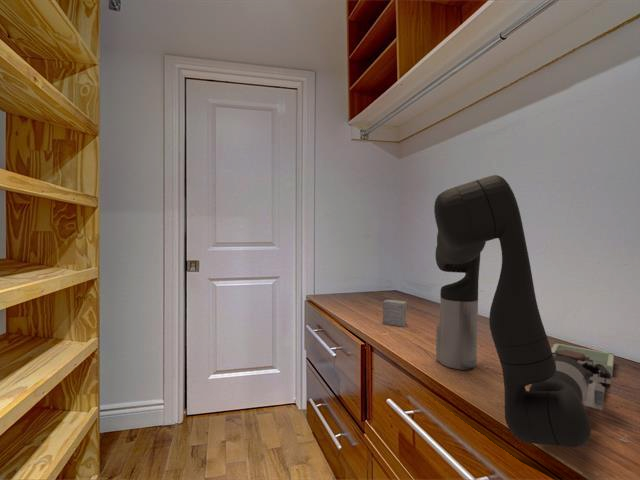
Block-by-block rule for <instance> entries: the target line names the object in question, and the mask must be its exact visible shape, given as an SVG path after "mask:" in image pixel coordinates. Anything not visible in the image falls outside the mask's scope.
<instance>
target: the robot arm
mask: <svg viewBox="0 0 640 480" xmlns="http://www.w3.org/2000/svg"><path fill="white" fill-rule="evenodd" d="M433 208H434V211H433V212H434V218H435V223H436V227H437V235H436V246H435V247H436V248H435V262H436V265H437V268H438V269H439V270H440V271H442V272H445V273H460V274H461V273H463V274H465V275H464V277H463V278H461V279H459V280H458V281H455V282H453V283H449V284H448V283H447V284H444V285H443V286H441V288H440V293H439V294H440V295H439V296H440V302H439V303H440V304H439V305H440V307H439V308H440V309H439V324H437V325H436V331H435V332H436V336H435V337H436V339H435V361H438V362H439V363H440V364H441V365H442V366H445V367H447V368H450V369H455V370H461V371H462V370H467V371H469V370H473V369H475V367H477V366H478V365H477V363H478V362H477V361H478V357H477V356H478V329H479V328H478V327H479V326H478V325H479V324H478V323H479V321H478V319H479V318H478V317H479V276H480V266H481V253H482V251H483V250H484V248H485V246H486V243H487V242H488V241H492V240H496V239H498V240H499V243H500V250H501V268H500V273H499V277H498V278H499V279H498V282H497V286H496V289H495V293H494V294H493V298H492V302H491V305H490V309H489V317H488V319H489V321H488V322H489V330H490V335H491V338H492V340H493V344H494V347H495V350H496V353H497V356H498V359H499V362H500V365H501V369H502V370H501V371H502V377H503V385H504V386H503V387H504V388H503V389H504V419H505V423H506V425H507V428H508V429H509V431H510V433H511V434H512V435H513V436H514V437H515V438H516V439H518V440H519V441H521V442H523V443H527V444H534V445H535V444H536V445H545V446H546V445H547V446H556V447H566V448H567V447H568V448H578V447H581V446H584V445H586V444H587V443H588V442H589V441H590V439H591V436H592V425H591V420H590V417H589V415H588V412H587V410H586V408H585V406H584V405H583V404H582V402H583V401H584V399H585V398H586V396H587V389H588V385H589V384H591V383H593V381H595V382H598V384H601V385H602V386H603V387H605V389H611V383H612V381H611V380H612V377H611V374H610V373H609V372H608V371H607V369H606V368H605V367H604V366H603V365H601V364H596V366H595V365H593V360H589V357H585V359H584V361H575V360H574V359H572V358H569V357H566V356H557V352H559V351H556V352H555V353H554V352H553V353H552V350H551V349H552V347H551V344H550V342H549V338H548V336H547V333H546V330H545V327H544V324H543V321H542V318H541V313H540V309H539V306H538V301H537V297H536V292H535V286H534V279H533V273H532V268H531V263H530V257H529V252H528V246H527V241H526V237H525V230H524V225H523V221H522V216H521V212H520V208H519V205H518V201H517V198H516V196H515V194H514V191H513V189H512V187H511V186H510V184H509V183H508V182H507V180H506V178H504V177H503V176H500V175H497V174H493V175H489V176H487V177H483V178H480V179H476V180H472V181H470V182H467V183H464V184H460V185H458V186H457V185H456V186H454V187H451V188H449V189H446V190H444V191H442V192H441V193H439V194H438V195H437V197H436V199H435V201H434V206H433ZM593 374H595V375H593ZM529 385H530V386H529ZM527 386H529V390H527V388H526V387H527Z"/></svg>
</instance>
